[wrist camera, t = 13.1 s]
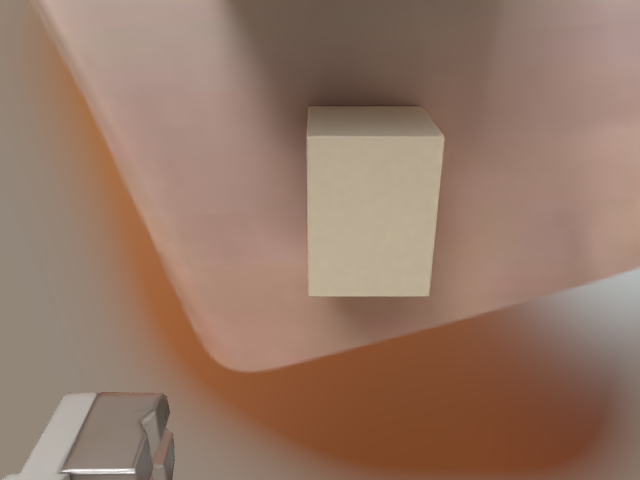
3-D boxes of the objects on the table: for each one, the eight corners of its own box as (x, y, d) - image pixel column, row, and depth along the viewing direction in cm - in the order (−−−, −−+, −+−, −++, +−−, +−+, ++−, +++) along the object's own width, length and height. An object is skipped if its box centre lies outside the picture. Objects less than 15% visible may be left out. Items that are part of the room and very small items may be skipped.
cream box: (308, 105, 24) (306, 135, 20) (423, 105, 24) (445, 136, 20) (309, 245, 27) (307, 297, 23) (412, 245, 27) (429, 297, 23)
